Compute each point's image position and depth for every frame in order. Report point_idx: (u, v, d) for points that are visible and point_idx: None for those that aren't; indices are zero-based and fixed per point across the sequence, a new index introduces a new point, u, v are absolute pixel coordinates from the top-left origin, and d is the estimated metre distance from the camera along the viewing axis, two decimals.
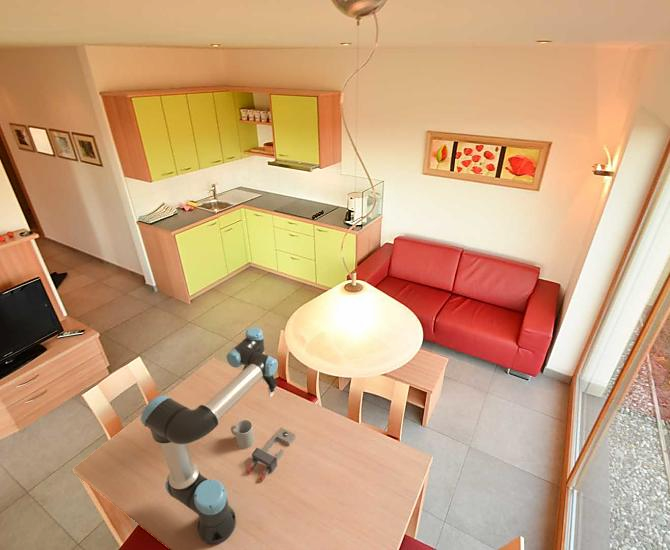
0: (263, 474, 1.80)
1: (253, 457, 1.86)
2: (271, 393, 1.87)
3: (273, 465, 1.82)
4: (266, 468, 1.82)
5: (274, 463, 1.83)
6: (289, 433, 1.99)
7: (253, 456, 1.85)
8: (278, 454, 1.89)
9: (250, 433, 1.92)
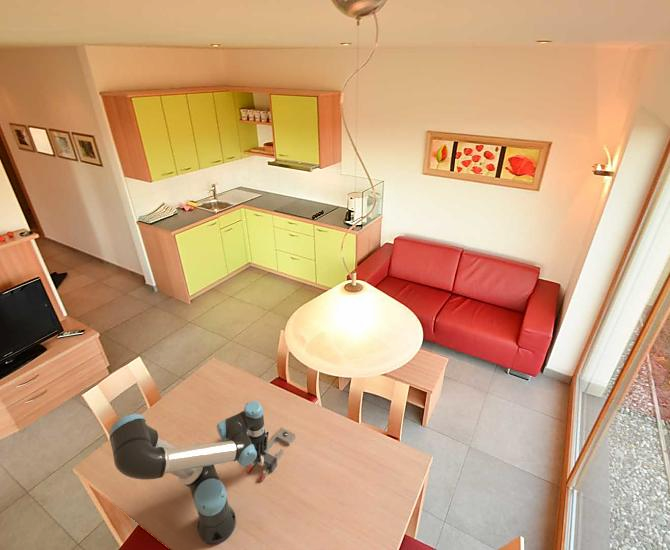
0: (263, 474, 1.80)
1: None
2: None
3: (273, 465, 1.82)
4: (266, 468, 1.82)
5: (274, 462, 1.83)
6: (289, 433, 1.99)
7: None
8: (278, 454, 1.89)
9: None
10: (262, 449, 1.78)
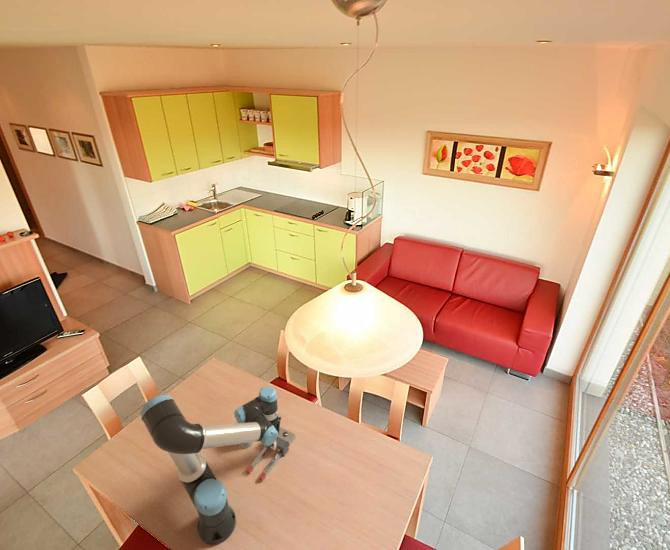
0: (263, 474, 1.80)
1: None
2: (272, 446, 1.89)
3: (285, 449, 1.90)
4: (266, 468, 1.82)
5: (286, 447, 1.90)
6: (289, 433, 1.99)
7: None
8: (278, 454, 1.89)
9: None
10: None
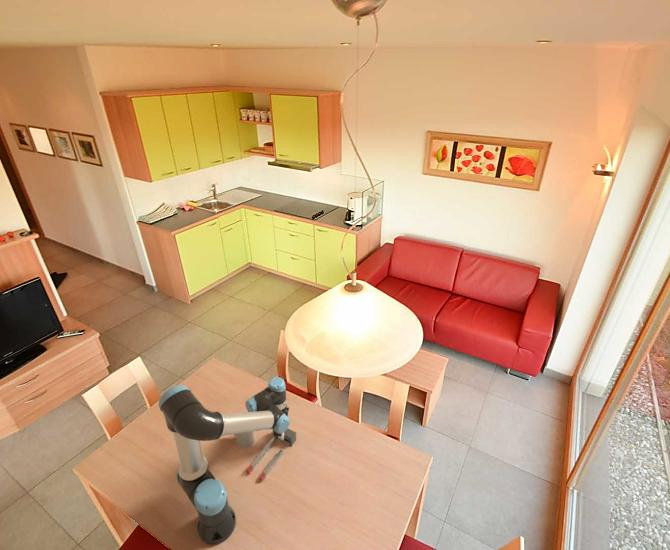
0: (263, 474, 1.80)
1: (274, 432, 1.98)
2: (280, 436, 1.94)
3: (293, 439, 1.95)
4: (266, 468, 1.82)
5: (294, 437, 1.95)
6: None
7: None
8: (278, 454, 1.89)
9: (250, 433, 1.92)
10: None
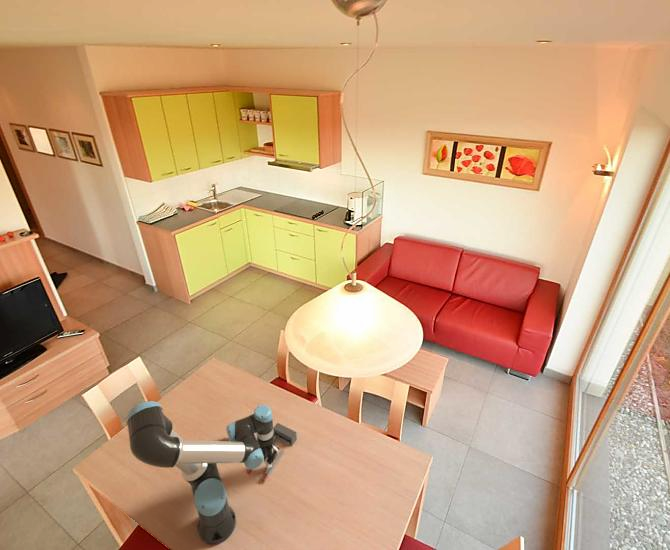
0: (265, 475, 1.79)
1: (274, 431, 1.98)
2: (269, 465, 1.83)
3: (293, 439, 1.95)
4: (268, 469, 1.82)
5: (294, 436, 1.95)
6: None
7: (274, 430, 1.98)
8: (279, 454, 1.89)
9: None
10: None
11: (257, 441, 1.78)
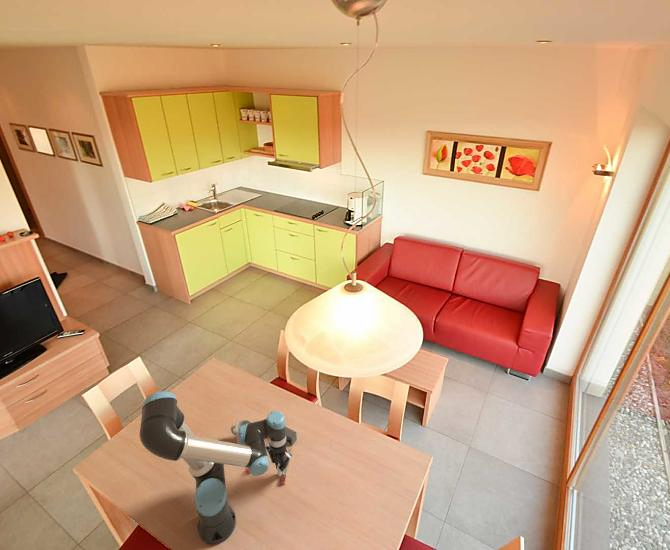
0: (284, 477, 1.79)
1: None
2: (281, 472, 1.80)
3: (293, 439, 1.95)
4: (284, 470, 1.81)
5: (294, 436, 1.95)
6: None
7: None
8: None
9: None
10: None
11: (269, 448, 1.75)
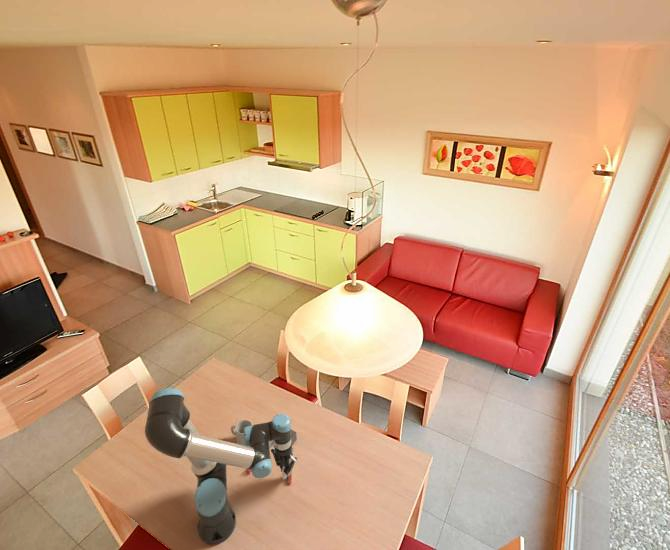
0: (290, 476, 1.79)
1: None
2: (286, 475, 1.79)
3: (293, 439, 1.95)
4: None
5: (294, 436, 1.95)
6: None
7: None
8: None
9: None
10: None
11: (274, 450, 1.74)
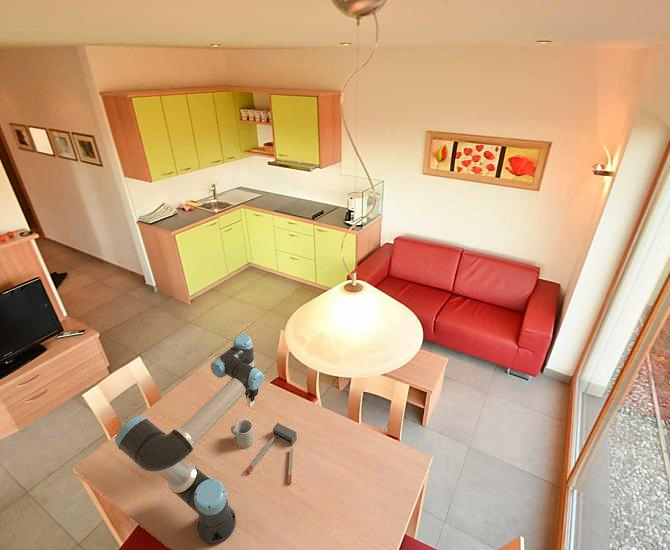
0: (290, 476, 1.79)
1: (274, 431, 1.98)
2: (251, 402, 1.80)
3: (293, 439, 1.95)
4: (289, 470, 1.82)
5: (294, 436, 1.95)
6: None
7: (274, 430, 1.98)
8: (291, 453, 1.89)
9: (250, 433, 1.92)
10: None
11: None
